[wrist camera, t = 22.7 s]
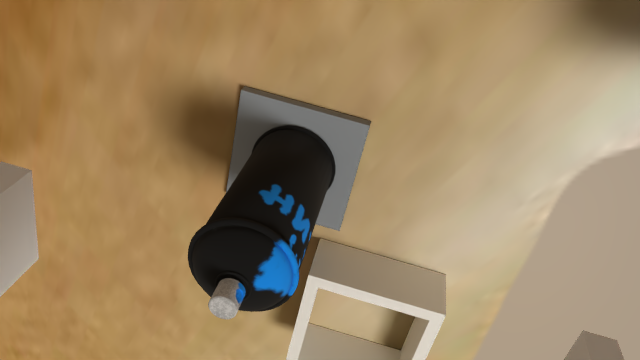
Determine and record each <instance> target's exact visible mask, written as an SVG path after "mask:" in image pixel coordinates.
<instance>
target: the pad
mask: <svg viewBox="0 0 640 360" xmlns="http://www.w3.org/2000/svg"><path fill="white" fill-rule="evenodd" d="M370 123H371V121H368V120H365V119H361V118H358V117H354V116H350V115H347V114H343V113H340V112H336V111H332V110H329V109H325V108H322V107H318V106H314V105H311V104H307V103H304V102H300V101H296V100H293V99H289V98H286V97H282V96H278V95H275V94H271V93H268V92H264V91H260V90H257V89H253V88H250V87H246V86H244V87H243V88H242V90H241V94H240V101H239V108H238V115H237V122H236V129H235V136H234V142H233V149H232V156H231V163H230V170H229V177H228V184H227V190H226V192H227V191H228V189H229V188H230V186H231V185H232V183H233V182H234V180H235V179H236V177H237V176H238V174H239V172H240V171H241V169H242V168H243V166H244V165H245V163H246V162H247V160H248V159H249V157H250V156H251V154H252V149H253V147H254V144H255V143H256V141H257V140H258V138H259V137H260V136H261V135H263V134H264V133H265V132H267V131H268V130H270V129H272V128H275V127H279V126H286V125H290V126H298V127H302V128H305V129H307V130H310V131H312V132H313V133H315V134H316V135H318V136H319V137H320V138H321V139H322V140H323V141H324V142H325V143H326V144H327V145H328V147H329V148H330V150H331V152H332V154H333V156H334V160H335V165H336V171H335V177H334V181H333V183H332V185H331V187H330V188H329V189H328V190H327V192H326V195H325V198H324V201H323V204H322V206H321V209H320V212H319V215H318V218H317V221H316V223H315V224H317V225H321V226H324V227H327V228H331V229H334V230H338V231H340V227H341V224H342V221H343V217H344V214H345V210H346V207H347V203H348V200H349V196H350V193H351V189H352V186H353V182H354V179H355V175H356V172H357V169H358V165H359V162H360V158H361V155H362V151H363V148H364V144H365V141H366V137H367V134H368V130H369V127H370Z"/></svg>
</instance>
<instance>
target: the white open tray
mask: <svg viewBox="0 0 640 360" xmlns="http://www.w3.org/2000/svg"><path fill="white" fill-rule="evenodd" d="M318 288H321V289H324V290H328V291H331V292H334V293H338V294H341V295H344V296H348V297H351V298H355V299H358V300H361V301H365V302H368V303H372V304H375V305H378V306H382V307H385V308H388V309H392V310H395V311H399V312H402V313H405V314H409V315H412V316H415V318H414V321H413V323H412V325H411V328H410V330H409V332H408V335H407V337H406V339H405V342H404V344H403V347H402V349H401V350H397V349H394V348H391V347H387V346H384V345H381V344H377V343H374V342H371V341H367V340H364V339H361V338H357V337H354V336H351V335H347V334H344V333H341V332H337V331H334V330H331V329H327V328H324V327H321V326H317V325H314V324H311V323H308V322H309V319H310V315H311V312H312V308H313V305H314V301H315V298H316V294H317V291H318ZM445 316H446V275H445V274H442V273H438V272H435V271H431V270H428V269H425V268H421V267H418V266H414V265H411V264H407V263H404V262H401V261H397V260H394V259H390V258H387V257H383V256H380V255H376V254H373V253H370V252H366V251H363V250H359V249H356V248H352V247H349V246H345V245H342V244H339V243H335V242H332V241H328V240H325V239H321V238H320V241H319V244H318V247H317V250H316V253H315V256H314V259H313V262H312V265H311V269H310V272H309V275H308V279H307V282H306V286H305V290H304V294H303V297H302V301H301V305H300V309H299V312H298V316H297V320H296V324H295V327H294V331H293V335H292V339H291V343H290V346H289V350H288V354H287V358H286V360H425V359H426V357H427V355H428V353H429V351H430V349H431V346H432V344H433V342H434V340H435V338H436V336H437V334H438V331H439V329H440V327H441V325H442V323H443V321H444V318H445Z"/></svg>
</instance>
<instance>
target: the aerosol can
mask: <svg viewBox="0 0 640 360" xmlns="http://www.w3.org/2000/svg"><path fill="white" fill-rule="evenodd" d="M335 171H336V165H335V160H334V156H333V154H332V152H331V150H330V148H329V147H328V145H327V144H326V143H325V142H324V141H323V140H322V139H321V138H320V137H319V136H318V135H316V134H315V133H313V132H312V131H310V130H307V129H305V128H302V127H298V126H290V125H286V126H279V127H275V128H272V129H270V130H268V131H267V132H265V133H264V134H263V135H261V136H260V137H259V138H258V140H257V141H256V143H255V144H254V147H253V149H252V154H251V156H250V157H249V159H248V160H247V162H246V163H245V165H244V166H243V168H242V169H241V171H240V172H239V174H238V176H237V177H236V179H235V180H234V182H233V183H232V185H231V186H230V188H229V189H228V191H227V192H226V194H225V196H224V197H223V199H222V200H221V202H220V203H219V205H218V206H217V208H216V209H215V211H214V212H213V214H212V216H211V217H210V219H209V220H208V222H207V223H206V225H204V226H203V227H202V228H201V229H199V230H198V231H197V232H196V233H195V235H194V236H193V238H192V239H191V242H190V245H189V249H188V261H189V267H190V269H191V272H192V275H193V276H194V278H195V279H196V281H197V283H198V284H199V285H200V286H201V287H202V288H203V290H204V291H205V292H206V293H207V294H208V295H209V296H210V297H211V299H210V301H209V304H208V306H209V309H210V311H211V312H212V313H213V314H214V315H215V316H217V317H219V318H222V319H231V318H233V317H235V315H236V314H237V312H238V310H242V311H251V312H252V311H266V310H271V309H274V308H276V307H279V306H280V305H282V304H283V303H285V302H286V301H287V300H288V299H289V298H290V297H291V296H292V295H293V294H294V292H295V290H296V288H297V286H298V281H299V269H300V266H301V263H302V260H303V257H304V255H305V252H306V249H307V246H308V243H309V240H310V238H311V235H312V232H313V229H314V226H315V223H316V221H317V218H318V215H319V212H320V209H321V206H322V204H323V201H324V198H325V195H326V192H327V190H328V189H329V188H330V187H331V185H332V183H333V181H334V177H335Z"/></svg>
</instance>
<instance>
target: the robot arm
mask: <svg viewBox="0 0 640 360" xmlns="http://www.w3.org/2000/svg"><path fill="white" fill-rule="evenodd" d="M38 259H39V257H38V244H37V232H36V219H35V207H34V194H33V182H32V170H29V169H25V168H22V167H18V166H15V165H12V164H8V163H5V162H0V297H1V296H2V295H3V294H4V293H5V292H6V291H7V290H8V289H9V288H10V287H11V286H12V285H13V284H14V283H15V282H16V281H17V280H18V279H19V278H20V277H21V276H22V275H23V274H24V273H25V272H26V271H27V270H28V269H29V268H30V267H31V266H32V265H33V264H34V263H35V262H36V261H37V260H38ZM564 360H624V358H623V356H622V353H621V350H620V347H619V344H618V342H617V340H614V339H610V338H607V337H604V336H600V335H597V334H593V333H590V332H586V331H582V333H581V334H580V336H579V337H578V339H577V341H576V342H575V344H574V345H573V346H572V348H571V349H570V351H569V353H568V354H567V356H566V357H565V359H564Z"/></svg>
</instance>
